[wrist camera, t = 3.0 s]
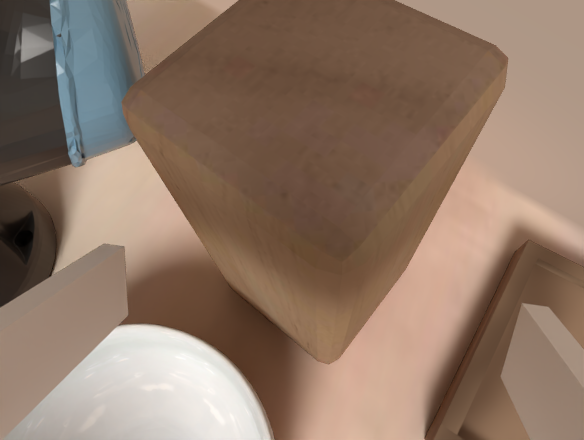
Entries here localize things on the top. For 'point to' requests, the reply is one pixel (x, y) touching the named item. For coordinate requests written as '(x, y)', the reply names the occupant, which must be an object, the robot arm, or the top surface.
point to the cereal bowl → (149, 393)
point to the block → (315, 148)
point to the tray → (507, 346)
